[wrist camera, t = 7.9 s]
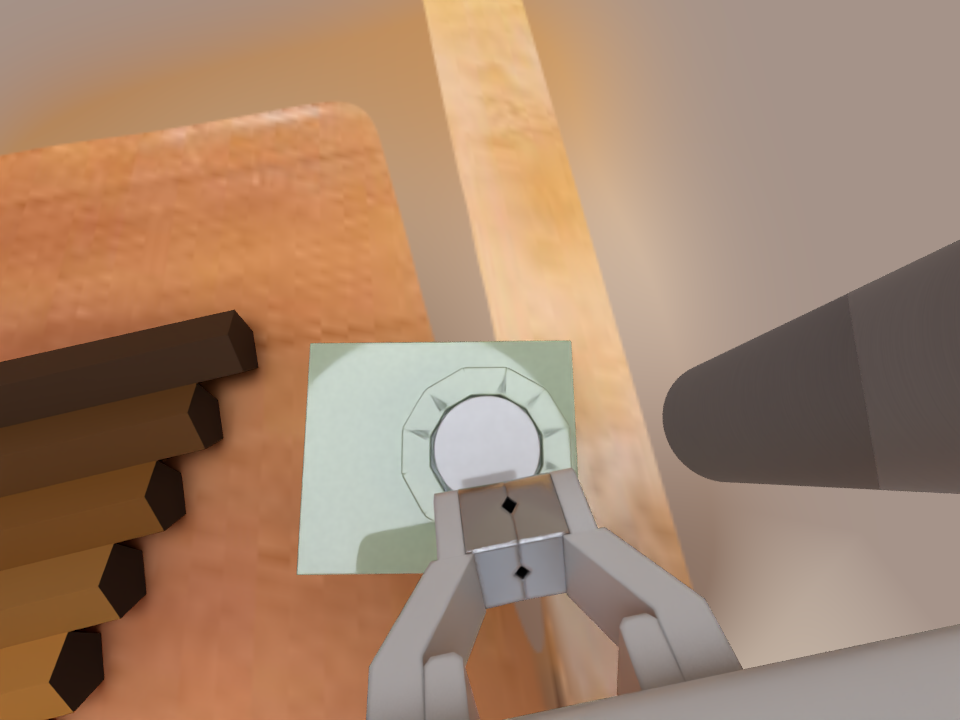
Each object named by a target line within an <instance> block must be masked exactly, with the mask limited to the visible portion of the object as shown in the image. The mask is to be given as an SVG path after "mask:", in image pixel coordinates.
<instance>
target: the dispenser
mask: <svg viewBox="0 0 960 720" xmlns="http://www.w3.org/2000/svg"><path fill="white" fill-rule="evenodd" d="M478 396H496V397H501V398H504V399H507V400H509V401H511V402H513V403H514V404H516V405H517V406H519V407H520V408H521V409H522V410H524V411H525V413H526V414H527V415H528V416H529V417H530V419H531V420H532V422H533V424H534V425H535V427H536V430H537V433H538V436H539V440H540V459H539V464H538V467H537V470H536V472H535V474H534V475H537V474H542V473H546V472H548V473H549V472H552V471H557V470H562V469H567V468H572V469H573V470H575V473H576V475H577V477H578V467H577V447H576V427H575V407H574V387H573V367H572V346H571V341H483V342H386V343H311V344H310V357H309V374H308V391H307V408H306V425H305V442H304V459H303V476H302V493H301V510H300V527H299V543H298V560H297V575H337V574H417V573H424V572H425V570H426V568H427V567H428V565H429V563H430V562H431V561H435V560H437V546H436V532H435V517H434V503H433V499H434V494H436V493H442V492H448V491H452V490H451V489H450V488H449V487H448V486H447V485H446V483H445V482H444V481H443V479H442V478H441V476H440V474H439V472H438V469H437V466H436V463H435V458H434V441H435V436H436V433H437V430H438V427H439V425H440V423H441V422H442V420H443V419H444V417H445V416H446V415H447V414H448V412H449V411H450V410H452V409H453V408H454V407H455V406H456V405H458V404H459V403H461V402H463V401H465V400H467V399H470V398H473V397H478Z"/></svg>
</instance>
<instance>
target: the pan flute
mask: <svg viewBox="0 0 960 720" xmlns="http://www.w3.org/2000/svg"><path fill="white" fill-rule="evenodd" d="M255 368H258V363H257V356H256V350H255V343H254V337H253V331H252V330H251V329H250V328H249V327H248V325H247V324H246V323H245V322H244V321H243V319H242V318H241V317H240V316H239V315H238V313H237V312H236V311H235V310H231V311H227V312H222V313H218V314H214V315H209V316H205V317H200V318H196V319H191V320H187V321H182V322H178V323H173V324H169V325H164V326H160V327H156V328H151V329H147V330H142V331H138V332H133V333H129V334H124V335H120V336H115V337H111V338H106V339H102V340H98V341H93V342H89V343H84V344H80V345H75V346H71V347H66V348H62V349H57V350H53V351H48V352H44V353H40V354H35V355H31V356H26V357H22V358H17V359H13V360H8V361H4V362H0V720H47V719H50V718H54V717H58V716H62V715H66V714H70V713H74V711H75V710H76V709H77V708H78V707H79V706H80V705H81V704H82V703H83V702H84V701H85V699H86V698H87V697H88V696H89V695H90V694H91V693H92V692H93V691H94V690H95V689H96V687H97V686H98V685H99V684H100V683H101V682H102V681H103V680H104V672H103V659H102V647H101V634H100V633H81V632H69V631H73V630H77V629H81V628H85V627H89V626H93V625H97V624H101V623H105V622H109V621H113V620H117V619H121V618H122V617H123V616H124V615H125V614H126V613H127V612H128V611H129V610H130V609H131V608H132V607H133V606H134V605H135V604H136V603H137V602H138V601H139V600H140V599H141V598H143V597H144V596H145V595H146V586H145V576H144V566H143V556H142V551H140V550H137V549H133V548H129V547H125V546H122V545H118V544H114V543H117V542H121V541H125V540H130V539H134V538H138V537H142V536H146V535H150V534H154V533H158V532H162V531H165V530H166V529H167V528H169V527H170V526H171V525H172V524H174V523H175V522H176V521H177V520H179V519H180V518H181V517H183V516H184V515H185V514H186V511H185V502H184V494H183V485H182V477H181V473H179V472H177V471H176V470H174V469H172V468H170V467H168V466H166V465H164V464H162V463H160V462H159V461H157V460H161V459H165V458H169V457H173V456H178V455H182V454H186V453H190V452H195V451H199V450H203V449H206V448H208V447H209V446H211V445H213V444H215V443H216V442H218V441H220V440H221V439H223V434H222V427H221V419H220V412H219V405H218V400H217V399H216V398H214V397H213V396H212V395H211V394H210V393H208V392H207V391H206V390H205V389H204V388H202V387H201V386H200V385H199V384H198V382H202V381H207V380H211V379H215V378H220V377H224V376H228V375H233V374H237V373H241V372H245V371H249V370H252V369H255Z"/></svg>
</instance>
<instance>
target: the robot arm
mask: <svg viewBox="0 0 960 720" xmlns="http://www.w3.org/2000/svg"><path fill="white" fill-rule="evenodd" d="M433 503H434V517H435V532H436V546H437V560H435V561H431V562H430V563H429V565H428V567H427V568H426V570H425V572H424V573H423V575H422V577H421V579H420V580H419V582H418V584H417V585H416V587H415V589H414V591H413V592H412V594H411V596H410V597H409V599H408V601H407V603H406V604H405V606H404V608H403V609H402V611H401V613H400V615H399V616H398V618H397V620H396V621H395V623H394V625H393V627H392V628H391V630H390V632H389V633H388V635H387V637H386V639H385V640H384V642H383V644H382V645H381V647H380V649H379V651H378V652H377V654H376V656H375V657H374V659H373V661H372V663H371V664H370V666H369V678H368V696H367V714H366V720H480V717H479V714H478V710H477V707H476V703H475V700H474V696H473V693H472V689H471V686H470V682H469V679H468V675H467V672H466V668H465V666H466V664H467V661H468V658H469V656H470V653H471V650H472V648H473V645H474V643H475V640H476V637H477V635H478V632H479V629H480V627H481V624H482V621H483V619H484V616H485V614H486V609H488V608H492V607H497V606H501V605H505V604H510V603H514V602H518V601H523V600H527V599H533V598H539V597H545V596H551V595H556V594H562V593H567V595H568V596H569V597H570V598H571V599H572V600H573V601H574V602H575V603H576V604H577V605H578V607H579V608H580V609H581V610H582V611H583V612H584V613H585V614H586V615H587V616H588V617H589V618H590V619H591V620H592V621H593V622H594V623H595V624H596V625H597V626H598V627H599V628H600V629H601V630H602V631H603V632H604V633H605V634H606V635H607V636H608V637H609V638H610V639H611V640H612V641H613V642H614V643H615V644H616V645H617V646H618V647H619V650H618V676H617V695H618V696H614V697H609V698H604V699H599V700H595V701H590V702H585V703H580V704H575V705H571V706H566V707H561V708H556V709H552V710H547V711H542V712H537V713H533V714H528V715H523V716H518V717H514V718H509V719H504V720H960V624H958V625H954V626H949V627H944V628H939V629H934V630H929V631H925V632H920V633H915V634H910V635H906V636H901V637H896V638H892V639H887V640H882V641H877V642H873V643H868V644H863V645H858V646H853V647H849V648H844V649H839V650H835V651H829V652H825V653H820V654H815V655H811V656H806V657H801V658H796V659H791V660H787V661H782V662H777V663H772V664H767V665H763V666H758V667H753V668H748V669H743V668H742V666H741V664H740V663H739V661H738V659H737V657H736V655H735V653H734V651H733V649H732V648H731V646H730V644H729V642H728V640H727V638H726V636H725V635H724V633H723V631H722V629H721V627H720V625H719V623H718V622H717V620H716V618H715V616H714V614H713V612H712V610H711V609H710V607H709V605H708V603H707V601H706V600H705V598H703V597H702V596H700V595H699V594H698V593H696V592H695V591H693V590H692V589H691V588H689V587H688V586H686V585H685V584H684V583H682V582H681V581H679V580H678V579H677V578H675V577H674V576H672V575H671V574H670V573H668V572H667V571H665V570H664V569H663V568H661V567H660V566H658V565H657V564H656V563H654V562H653V561H651V560H650V559H649V558H647V557H646V556H644V555H643V554H642V553H640V552H639V551H637V550H636V549H635V548H633V547H632V546H630V545H629V544H628V543H626V542H625V541H624V540H622V539H621V538H619V537H618V536H617V535H615V534H614V533H612V532H611V531H610V530H608V529H607V528H605V527H604V528H598V527H597V525H596V522H595V520H594V517H593V515H592V512H591V510H590V507H589V505H588V502H587V500H586V497H585V495H584V492H583V490H582V487H581V485H580V482H579V480H578V477H577V475H576V473H575V470H573V469H572V468H567V469H562V470H557V471H552V472H549V473H548V472H546V473H542V474H537V475H532V476H527V477H522V478H517V479H512V480H507V481H503V482H499V483H493V484H487V485H481V486H475V487H469V488H463V489H458V490H454V491H448V492H442V493H436V494H434V499H433Z"/></svg>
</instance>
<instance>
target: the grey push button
mask: <svg viewBox="0 0 960 720" xmlns="http://www.w3.org/2000/svg"><path fill="white" fill-rule="evenodd" d="M434 458H435V463H436V466H437V469H438V472H439V474H440V476H441V478H442V479H443V481H444V482H445V483H446V485H447V486H448V487H449V488H450V489H451V490H452V491H454V490H458V489H463V488H469V487H475V486H481V485H487V484H493V483H499V482H503V481H507V480H512V479H517V478H522V477H527V476H532V475H534V474H535V472H536V470H537V467H538V464H539V459H540V440H539V436H538V433H537V430H536V427H535V425H534V424H533V422H532V420H531V419H530V417H529V416H528V415H527V414H526V413H525V411H524V410H522V409H521V408H520V407H519V406H517V405H516V404H514V403H513V402H511V401H509V400H507V399H504V398H501V397H496V396H478V397H473V398H470V399H467V400H465V401H463V402H461V403H459V404H458V405H456V406H455V407H454V408H453V409H452V410H450V411H449V412H448V414H447V415H446V416H445V417H444V419H443V420H442V422H441V423H440V425H439V427H438V430H437V433H436V436H435V441H434Z"/></svg>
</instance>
